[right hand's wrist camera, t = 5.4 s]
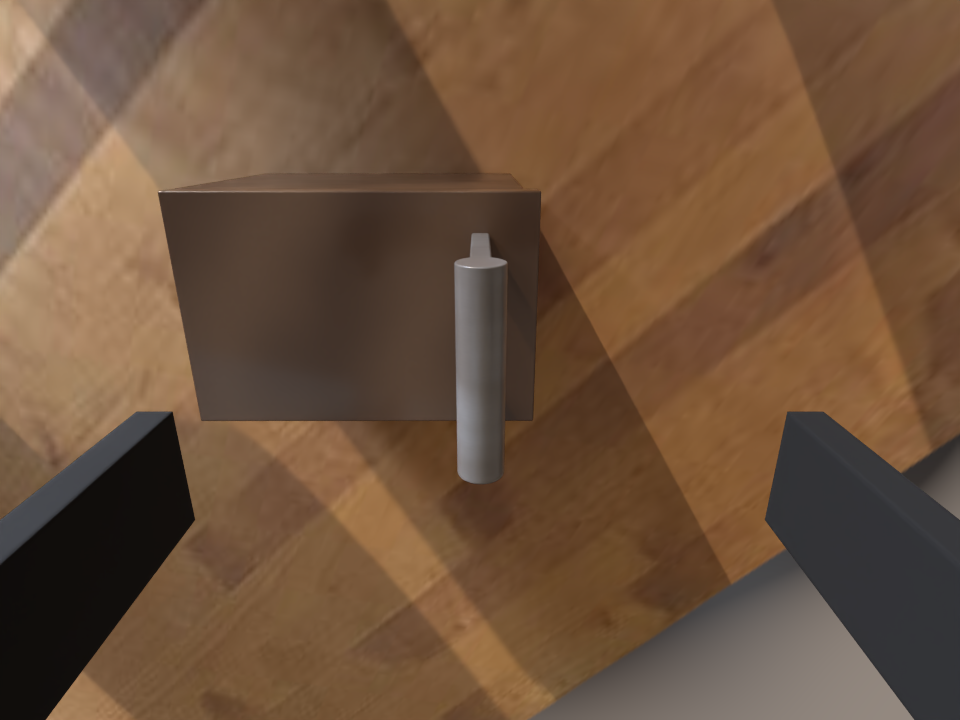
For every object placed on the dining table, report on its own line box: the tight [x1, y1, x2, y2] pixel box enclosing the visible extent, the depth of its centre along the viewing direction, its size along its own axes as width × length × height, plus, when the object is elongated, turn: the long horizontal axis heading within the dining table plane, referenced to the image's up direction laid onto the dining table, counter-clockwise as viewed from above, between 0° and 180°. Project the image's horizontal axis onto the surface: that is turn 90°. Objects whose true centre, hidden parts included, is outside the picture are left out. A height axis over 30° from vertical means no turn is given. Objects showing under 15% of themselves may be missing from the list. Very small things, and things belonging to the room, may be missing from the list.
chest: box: [175, 174, 523, 189], centre depth 30 cm, size 14×10×11 cm
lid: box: [158, 189, 541, 484], centre depth 21 cm, size 15×10×8 cm, turn 90°
